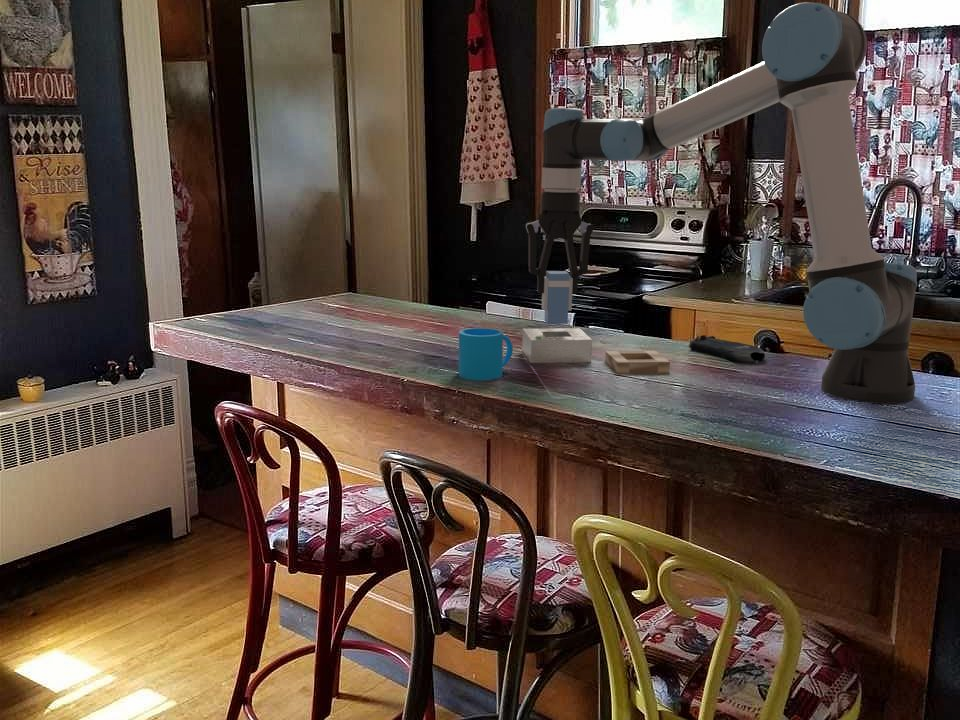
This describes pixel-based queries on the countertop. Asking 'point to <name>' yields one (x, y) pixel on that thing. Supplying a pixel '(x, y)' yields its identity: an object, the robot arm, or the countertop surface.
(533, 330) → the port block
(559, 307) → the plug
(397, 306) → the countertop surface
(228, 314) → the countertop surface
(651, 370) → the tan flat square frame
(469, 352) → the mug
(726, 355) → the electronic device
